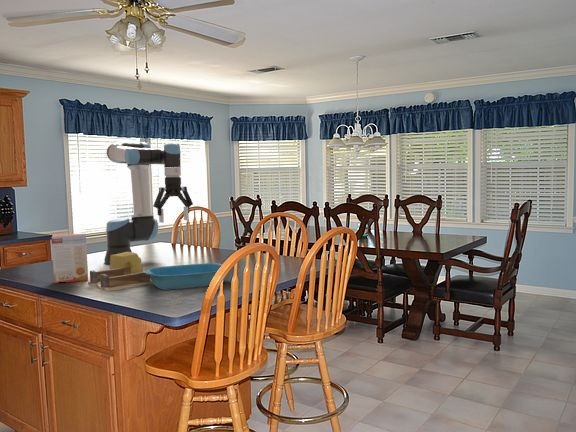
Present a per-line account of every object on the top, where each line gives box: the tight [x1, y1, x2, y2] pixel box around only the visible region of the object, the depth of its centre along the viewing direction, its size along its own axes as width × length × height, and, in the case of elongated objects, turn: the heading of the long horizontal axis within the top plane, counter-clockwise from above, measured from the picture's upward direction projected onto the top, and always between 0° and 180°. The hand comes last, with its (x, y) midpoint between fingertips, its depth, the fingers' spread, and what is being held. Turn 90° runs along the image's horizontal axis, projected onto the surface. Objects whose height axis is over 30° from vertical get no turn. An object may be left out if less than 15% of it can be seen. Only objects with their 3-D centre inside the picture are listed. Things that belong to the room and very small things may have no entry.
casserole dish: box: [144, 262, 228, 291], centre depth 222 cm, size 37×22×7 cm, turn 116°
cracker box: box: [51, 233, 89, 284], centre depth 230 cm, size 14×6×21 cm, turn 110°
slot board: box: [87, 266, 154, 292], centre depth 227 cm, size 20×28×6 cm
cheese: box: [109, 251, 143, 274], centre depth 244 cm, size 10×11×10 cm
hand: (174, 221), depth 246 cm, fingers open, 13 cm apart
